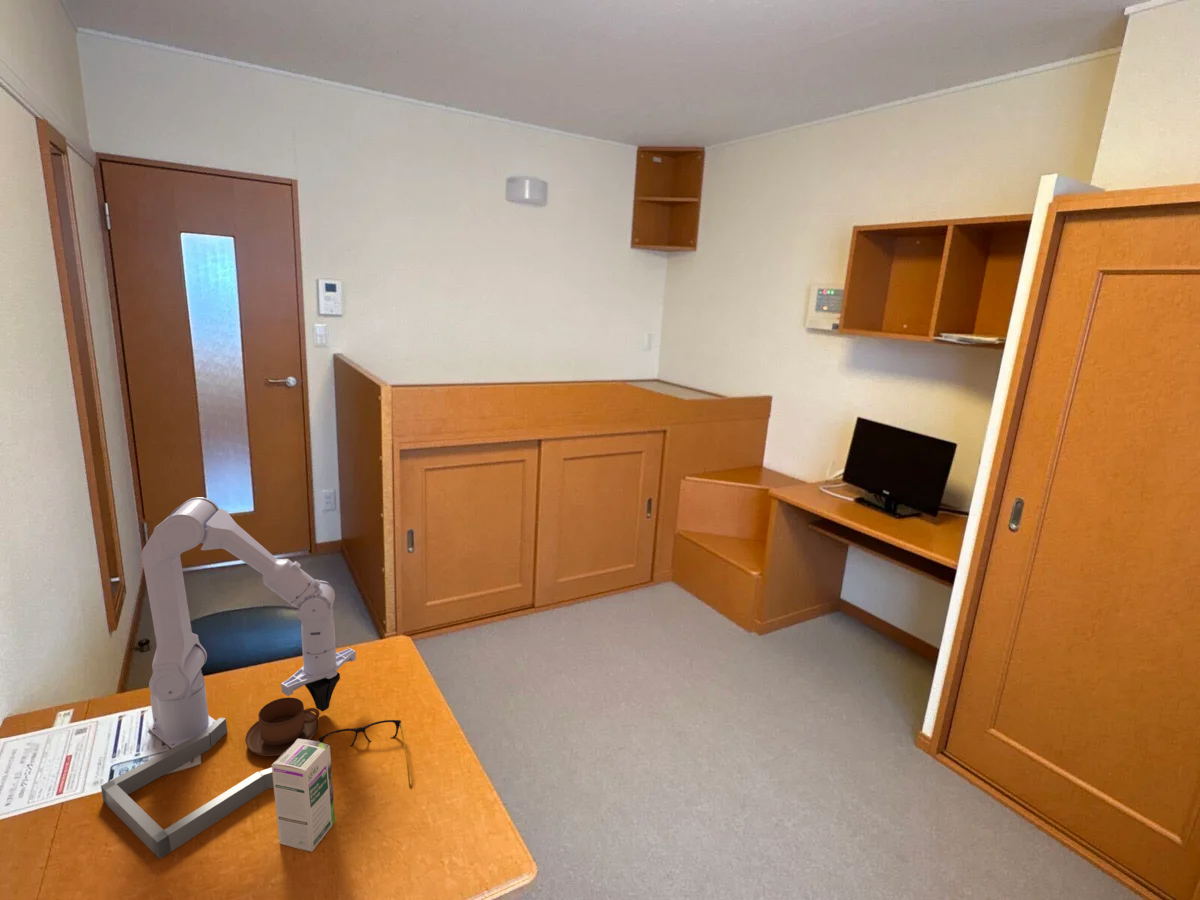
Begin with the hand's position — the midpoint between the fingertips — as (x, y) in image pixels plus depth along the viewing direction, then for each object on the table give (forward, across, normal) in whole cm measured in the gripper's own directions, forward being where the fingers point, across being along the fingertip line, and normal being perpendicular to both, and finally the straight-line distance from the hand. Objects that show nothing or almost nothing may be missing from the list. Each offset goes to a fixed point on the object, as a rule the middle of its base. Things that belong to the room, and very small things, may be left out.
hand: (322, 707), depth 120 cm
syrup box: (+2, -18, -22) cm, 29 cm away
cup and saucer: (+2, -8, 0) cm, 8 cm away
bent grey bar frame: (+1, -23, 0) cm, 23 cm away
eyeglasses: (+2, -5, -18) cm, 19 cm away
